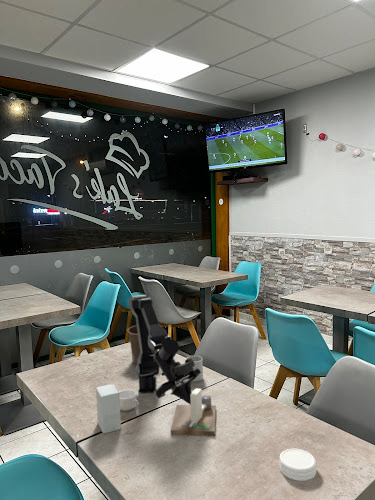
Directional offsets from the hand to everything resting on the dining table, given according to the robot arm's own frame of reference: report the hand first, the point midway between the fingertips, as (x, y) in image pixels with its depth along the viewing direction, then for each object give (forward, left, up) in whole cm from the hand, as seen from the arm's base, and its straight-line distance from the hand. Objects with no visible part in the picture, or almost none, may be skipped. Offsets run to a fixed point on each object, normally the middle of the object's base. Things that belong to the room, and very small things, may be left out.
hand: (192, 403), depth 134 cm
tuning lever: (+2, +2, -5) cm, 6 cm away
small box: (-29, -2, -8) cm, 30 cm away
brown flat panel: (0, +2, -7) cm, 8 cm away
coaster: (+31, -22, -8) cm, 39 cm away
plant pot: (-28, +57, -8) cm, 64 cm away
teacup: (-25, +10, -8) cm, 28 cm away
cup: (-3, +36, -8) cm, 37 cm away
